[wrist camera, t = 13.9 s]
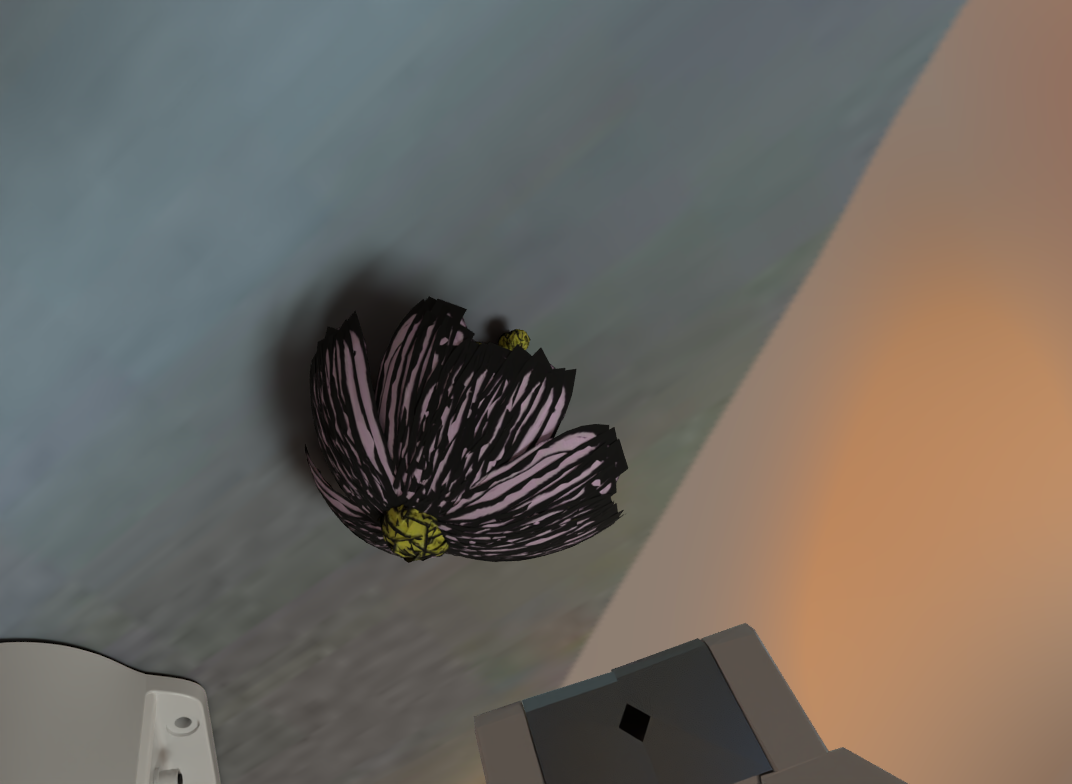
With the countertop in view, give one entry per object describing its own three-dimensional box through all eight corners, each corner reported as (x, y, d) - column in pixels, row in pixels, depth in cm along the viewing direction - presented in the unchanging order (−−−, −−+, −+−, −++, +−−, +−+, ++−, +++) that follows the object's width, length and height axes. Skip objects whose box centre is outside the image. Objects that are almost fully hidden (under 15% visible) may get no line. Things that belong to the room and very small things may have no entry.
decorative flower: (188, 448, 31) (632, 440, 30) (265, 229, 39) (621, 216, 37) (301, 641, 42) (629, 640, 41) (344, 441, 50) (621, 435, 48)
